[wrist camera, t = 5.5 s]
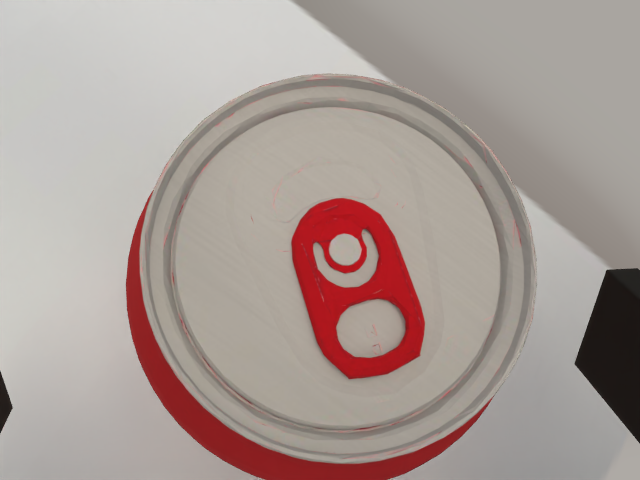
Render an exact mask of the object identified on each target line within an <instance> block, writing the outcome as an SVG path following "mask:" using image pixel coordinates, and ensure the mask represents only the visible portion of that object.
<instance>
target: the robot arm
mask: <svg viewBox="0 0 640 480" xmlns="http://www.w3.org/2000/svg"><path fill="white" fill-rule="evenodd" d="M575 365H576V366H577V367H578V369H579V370H580V371H581V372H582V373H583V375H584V376H585V377H586V378H587V380H588V381H589V382H590V383H591V384H592V386H593V387H594V388H595V389H596V391H597V392H598V393H599V394H600V395H601V397H602V398H603V399H604V400H605V402H606V403H607V404H608V405H609V406H610V408H611V409H612V410H613V411H614V413H615V414H616V415H617V416H618V417H619V419H620V420H621V421H622V422H623V423H624V425H625V426H626V427H627V428H628V430H629V431H630V432H631V433H632V434H633V436H634V437H635V438H636V439H637V441H638V442H639V443H640V270H639V269H637V268H636V269H615V270H607V271H606V273H605V276H604V279H603V282H602V285H601V288H600V291H599V294H598V297H597V300H596V303H595V305H594V308H593V311H592V314H591V317H590V320H589V323H588V326H587V329H586V332H585V335H584V337H583V340H582V343H581V346H580V349H579V352H578V355H577V358H576V361H575ZM12 408H13V407H12V404H11V401H10V398H9V395H8V392H7V389H6V386H5V383H4V380H3V378H2V375H1V372H0V433H1V431H2V429H3V427H4V424H5V422H6V420H7V418H8V416H9V414H10V412H11V410H12Z"/></svg>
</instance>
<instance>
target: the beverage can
mask: <svg viewBox="0 0 640 480" xmlns="http://www.w3.org/2000/svg"><path fill="white" fill-rule="evenodd" d="M536 286H537V271H536V255H535V249H534V243H533V237H532V231H531V226H530V223H529V220H528V217H527V214H526V211H525V208H524V205H523V203H522V200H521V198H520V196H519V194H518V192H517V190H516V188H515V186H514V184H513V182H512V180H511V179H510V177H509V175H508V173H507V171H506V170H505V169H504V167H503V166H502V164H501V163H500V162H499V160H498V159H497V157H496V156H495V155H494V153H493V152H492V150H491V149H490V148H489V147H488V146H487V145H486V144H485V143H484V142H483V140H481V138H480V137H479V136H478V135H477V134H476V133H475V132H474V131H473V130H471V129H470V128H469V127H468V126H466V125H465V124H464V123H463V122H462V121H461V120H459V119H458V118H457V117H456V116H454V115H453V114H452V113H450V112H449V111H448V110H447V109H445V108H444V107H442V106H440V105H438V104H436V103H435V102H433V101H431V100H429V99H427V98H425V97H423V96H421V95H420V94H417V93H416V92H414V91H412V90H410V89H407V88H404V87H401V86H398V85H395V84H392V83H389V82H386V81H383V80H379V79H374V78H368V77H363V76H357V75H346V74H314V75H302V76H297V77H293V78H289V79H285V80H281V81H277V82H274V83H270V84H266V85H263V86H260V87H258V88H256V89H253V90H251V91H249V92H247V93H245V94H243V95H241V96H239V97H237V98H235V99H233V100H231V101H229V102H228V103H226V104H225V105H223V106H222V107H221V108H219V109H218V110H216V111H215V112H213V113H212V114H211V115H209V116H208V117H206V118H205V119H204V120H203V121H202V122H201V123H200V124H199V125H198V126H197V127H196V128H195V129H194V130H193V131H192V132H191V133H190V134H189V135H188V136H187V137H186V138H185V139H184V140H183V142H182V143H181V144H180V146H179V147H178V148H177V150H176V151H175V152H174V154H173V155H172V156H171V158H170V160H169V161H168V163H167V164H166V166H165V168H164V169H163V171H162V173H161V175H160V177H159V179H158V181H157V184H156V186H155V188H154V190H153V191H152V193H151V195H150V196H149V198H148V200H147V202H146V205H145V207H144V209H143V211H142V213H141V216H140V218H139V220H138V223H137V226H136V229H135V232H134V235H133V239H132V244H131V248H130V253H129V257H128V268H127V279H126V295H127V311H128V318H129V324H130V329H131V334H132V339H133V342H134V345H135V349H136V352H137V355H138V358H139V361H140V363H141V365H142V368H143V370H144V372H145V374H146V376H147V378H148V380H149V382H150V384H151V386H152V388H153V390H154V391H155V393H156V394H157V396H158V397H159V399H160V400H161V402H162V404H163V405H164V407H165V408H166V409H167V411H168V412H169V413H170V414H171V415H172V417H173V418H174V419H175V420H176V421H177V422H178V424H179V425H180V426H181V427H182V428H183V429H184V430H185V431H186V432H187V433H188V434H189V435H191V436H192V437H193V438H194V439H195V440H196V441H197V442H198V443H199V444H201V445H202V446H203V447H204V448H206V449H207V450H208V451H210V452H211V453H213V454H214V455H216V456H217V457H219V458H220V459H222V460H223V461H225V462H227V463H229V464H231V465H233V466H235V467H237V468H239V469H240V470H242V471H245V472H247V473H249V474H251V475H254V476H256V477H259V478H262V479H265V480H387V479H390V478H393V477H396V476H399V475H402V474H405V473H407V472H409V471H411V470H413V469H415V468H417V467H418V466H420V465H422V464H424V463H426V462H427V461H429V460H431V459H432V458H434V457H436V456H437V455H439V454H441V453H442V452H443V451H444V450H446V449H447V448H448V447H449V446H450V445H452V444H453V443H454V442H455V441H457V440H458V439H459V438H460V437H461V436H462V435H463V434H464V433H465V432H466V431H467V430H468V429H469V428H470V427H471V426H472V425H473V424H474V423H475V422H476V421H477V420H478V418H479V417H480V416H481V414H482V413H483V412H484V410H485V409H486V407H487V406H488V404H489V403H490V401H491V400H492V398H493V397H494V395H495V394H496V393H497V391H498V390H499V388H500V387H501V385H502V384H503V382H504V381H505V380H506V378H507V377H508V375H509V373H510V372H511V370H512V368H513V366H514V365H515V363H516V361H517V359H518V357H519V355H520V353H521V350H522V348H523V346H524V343H525V340H526V337H527V334H528V331H529V328H530V325H531V322H532V319H533V311H534V303H535V295H536Z"/></svg>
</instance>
